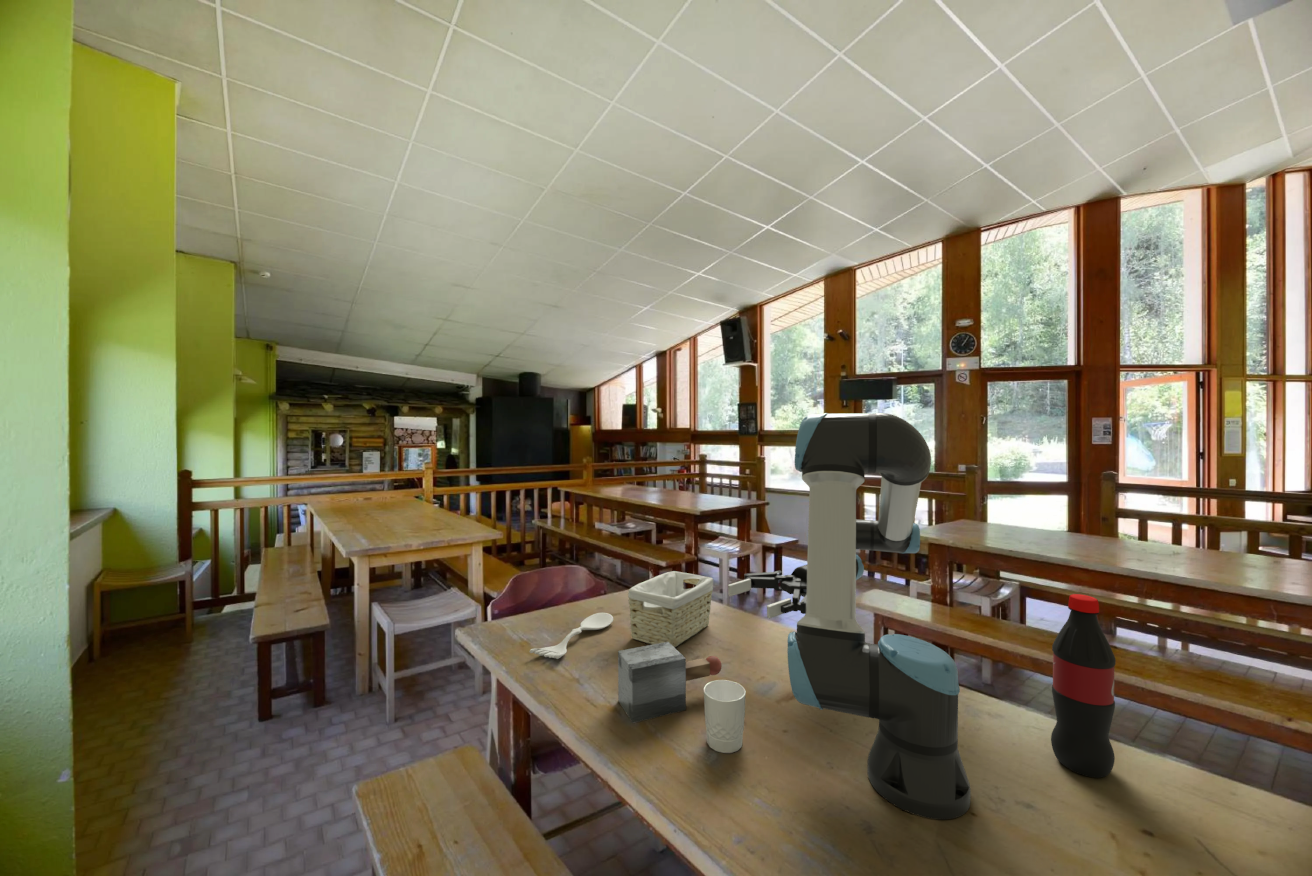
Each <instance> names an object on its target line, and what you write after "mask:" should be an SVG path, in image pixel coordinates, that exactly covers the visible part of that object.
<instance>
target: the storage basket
mask: <svg viewBox="0 0 1312 876" xmlns="http://www.w3.org/2000/svg"><path fill="white" fill-rule="evenodd" d="M684 583H686V584H691V585H695V586H694V587H691V588H685V587H684V586H685V585H684ZM713 589H714V578H713V577H711V576H710V577H709V576H703V575H699V574H694V573H687V572H681V571H676V570H673V571H668V572H664V573H662V574H659V575H656V576H654V577H652V578H650V579H647V580H645V581H643V582H639V583H637V584H635V585H634V586H632V587H630V588H629V589H628V593H627V595H628V596H627V597H628V605H629V606H628V607H629V618H630V619H629V620H630V636H631V638H632V639H634V640H636V641H639V642H644V643H646V644H650V645H653V644H659V643H664V642H669V643H670V644H671V645H672V646H673V647H674V648H675V649H676V647H678V646H679V645H681V644H682V643H684V642H685V641H687V640H688V639H690V638H691V637H693V636H695V635H697V634H698V633H699V632H701V630H703V629H705V628H706V627H707V626H709V623H710V615H711V605H712V596H713V595H712V594H713Z"/></svg>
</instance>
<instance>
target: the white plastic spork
mask: <svg viewBox="0 0 1312 876" xmlns="http://www.w3.org/2000/svg"><path fill="white" fill-rule="evenodd" d="M613 621H614V617H613V615H612V614H610V613H607V612H597V613H593V614H591V615H589V616H587V617H585V618H584V619H583V620H582V621H581V622H580V623H579V625H580V626H579V627H577V628H573V629H571V630H570V631H571V632H569V633H567V635H566V636H565V637H564V639H563V640H561V641H560V642H559V643H558V644H556V645H552V646H546V647H541V648H537V647H536V648H531V649H530V650H529V653H530V654H535V655H538V656H541V657H544V658H549V659H550V658H552V659H556V660H558V659H560V658H562V657H563V656H564V655H566V654H567V652H568V650H567V645H568V643H569V641H570V639H572V637H574V636H576V635H579V634H581V633H582V631H597V630H603V629H605V628H606V627H609V626H610V625H611V624H612V623H613Z"/></svg>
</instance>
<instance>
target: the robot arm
mask: <svg viewBox="0 0 1312 876" xmlns="http://www.w3.org/2000/svg"><path fill="white" fill-rule="evenodd" d="M794 448H795V449H794V452H795V453H794V469H795V471H798V472H800V473H801V479H802V481H803V482H804V483H805V484H806V485H807V486H808V487H809V498H808V499H809V501H808V529H807V531H808V532H807V533H808V534H807V562H806V563H807V564H803V565H801V566H798V567H795V568H794V570H793V571H792V573H791V574H785V575H784V574H783V572H782V571H781V570H776V571H768V572H754V573H744V578H743V579H742V580H740V581H736V582H733V583H730V584H727V588H728V589H727V591H728V592H727V593H728V596H729V597H733V596H735V595H740V594H743V593H745V592H749V591H752V589H774V590H775V591H779V592H782V591H783V592H786V593H788V594H789V595H792V599H791V598H788V597H787V598H785V599H782V600H779V601H776V602H773V603H771V604H767V605H766V618H767V619H773V618H775V617H778V616H780V615H781V616H782V615H784V614H788V613H790V612H798V611H800V614H801V615H802V614H803V617H801V618H800V619H799V620H797V622H796V631H795V630H794V631H792V632H789V633H788V634H787V651H786V652H787V667H788V676H789V682H790V688H791V692H792V695H793V696H794V698H795V700H796V701H797V702H798V703H800V704H803V705H806V706H810V707H814V708H818V709H819V710H820V711H821V710H823V711H824V710H828V711H834V712H840V713H844V714H849V715H855V716H859V717H865V718H871V719H876V720H878V730H877V733H876V736H875V739H874V741H873V742H872V746H871V748H870V751H869V753H868V757H867V777H868V780H869V781H870V785H871V786H872V787H873V789H875V791H876V792H877V793H878V794H879V795H880V796H882V797H883V798H884V799H885V800H886V801H888V802H889V803H891V804H892V805H893V806H895V807H897V808H899V809H901V810H903V811H906V812H908V813H911V814H913V815H915V816H919V817H923V818H927V819H931V820H932V819H934V820H951V819H956V818H959V817H961V816H963V815H965V814H966V813H967V812H968V811H969V808H971V807H970V806H971V785H970V782H969V778H968V775H967V772H966V769H965V766H964V764H963V761H962V757H961V755H960V751H959V745H958V743H959V739H958V738H959V694H960V693H961V691H960V690H961V688H960V686H959V673H958V667H957V665H956V662H955V660H954V659H953V658H952V657H951V655H949V654H948V652H946V651H944V649H942V648H940V647H938V646H936V645H935V644H933V643H930V642H927V641H926V640H923V639H921V638H917V637H914V636H910V635H904V634H899V633H893V634H889V633H888V634H884V635H882V636H881V637H880V638H879V640H878V642H877V644H875V643H870V642H869V643H868V642H866V631H865V630H864V628H863V627H861V625H860V624H859V623H858V621H857V617H856V615H857V602H856V601H857V594H856V592H857V591H856V590H857V581H858V580H859V579H860V578H862V576H863V575H864V572H865V571H864V570H865V567H864V564H863V562H862V559H861V557H860V556H859V555H858V554H857V550H861V551H874V552H875V551H876V552H887V553H897V554H902V555H903V554H917V553H918V552H920V549H921V548H920V547H921V530H920V526H919V525H918V524H917V523H915V519H916V518H915V517H916V511H917V507H918V502H919V497H920V490H921V487H922V483H923V482H924V481H925V480H926V479H927V478H928V476H929V474H930V471H931V465H932V456H931V450H930V448H929V445H928V444H927V441H926V440H925V438H924V437H923V435H922V434H921V433H920V432H919V430H918V429H917V428H915V427H914V426H913V425H912V423H910V422H908V421H907V420H905V419H904V418H901V417H899V416H897V415H894V414H890V413H885V412H874V413H869V412H868V413H828V412H825V413H821V414H809V415H806V416H805V417H804V418H802V421H801V422H800V425H799V428H798V432H797V435H796V442H795V447H794ZM866 473H870V474H871V473H873V474H877V473H878V474H879V475H880V476H881V480H880V495H879V497H880V498H879V507H878V508H879V509H878V520H871V519H857V489H858V488H859V487H860V486H862V485H863V483H865V481H866V480H865V474H866ZM779 583H780V586H779ZM801 597H803V598H802V599H801Z"/></svg>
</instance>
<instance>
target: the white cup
mask: <svg viewBox="0 0 1312 876" xmlns="http://www.w3.org/2000/svg"><path fill="white" fill-rule="evenodd" d="M746 692H747V691H746V689H745V687H744V686H743V685H741V684H740V683H739V682H735V681H733V680H728V679H727V680H726V679H716V680H712V681H709V682H708V683H706V684H705V685H704V687H703V703H704V704H703V705H704V708H703V709H704V721H705V722H704V723H705V728H706V731H705V732H706V743H707V745H708V747H709V748H710V749H712V750H714V751H715V752H719V753H722V754H733V753H734V752H738V751H739V750H740V749H741V748H742V747H743V737H744V736H743V734H744V731H745V715H746V712H745V711H746Z"/></svg>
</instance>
